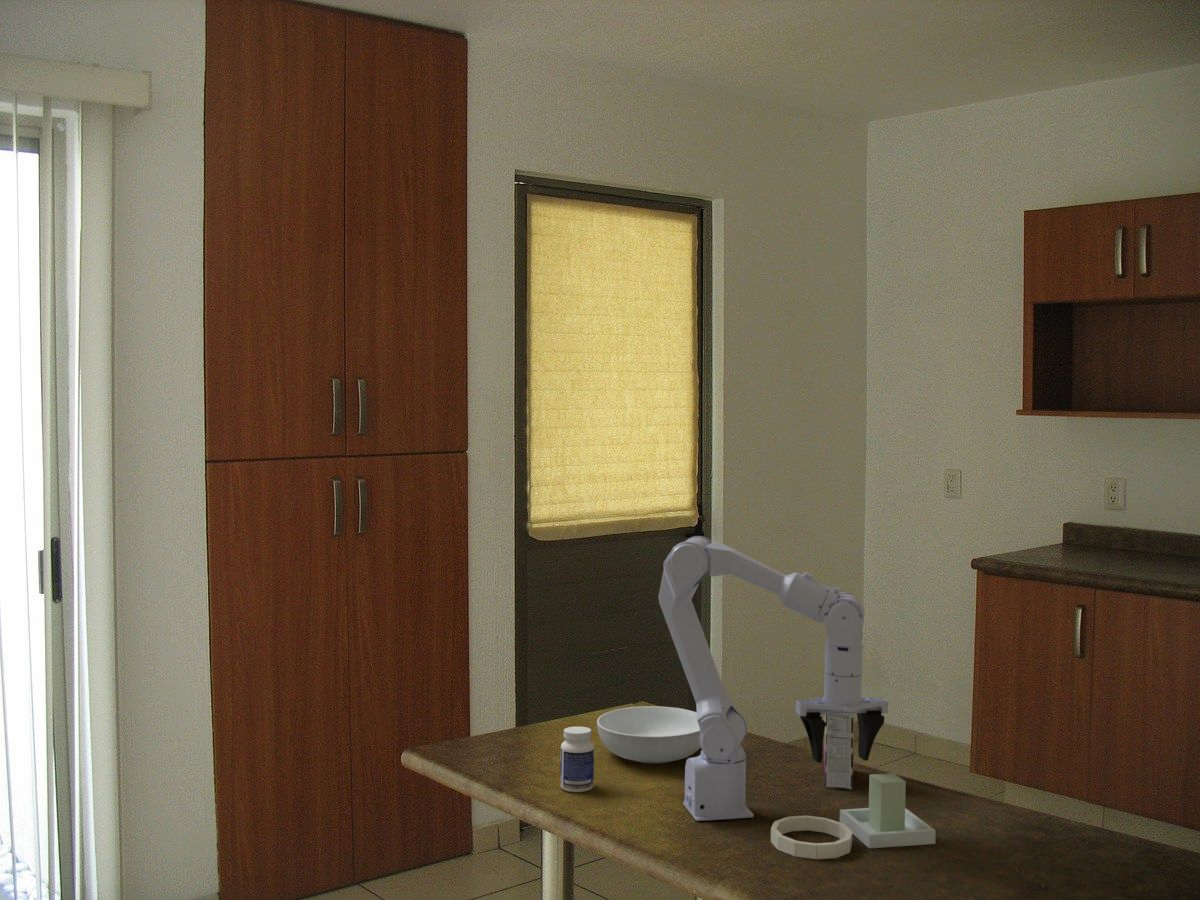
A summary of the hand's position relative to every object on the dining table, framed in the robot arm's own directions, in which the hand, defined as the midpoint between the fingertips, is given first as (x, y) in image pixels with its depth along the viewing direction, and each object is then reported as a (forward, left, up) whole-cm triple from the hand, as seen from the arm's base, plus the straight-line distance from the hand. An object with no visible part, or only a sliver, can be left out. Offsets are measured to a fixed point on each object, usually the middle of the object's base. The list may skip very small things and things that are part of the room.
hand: (840, 759), depth 173 cm
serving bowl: (-20, +38, -11) cm, 45 cm away
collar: (-7, -7, -10) cm, 14 cm away
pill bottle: (-37, +23, -10) cm, 45 cm away
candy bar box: (+9, +20, -11) cm, 25 cm away
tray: (+6, -5, -10) cm, 12 cm away
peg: (+6, -5, -10) cm, 12 cm away
